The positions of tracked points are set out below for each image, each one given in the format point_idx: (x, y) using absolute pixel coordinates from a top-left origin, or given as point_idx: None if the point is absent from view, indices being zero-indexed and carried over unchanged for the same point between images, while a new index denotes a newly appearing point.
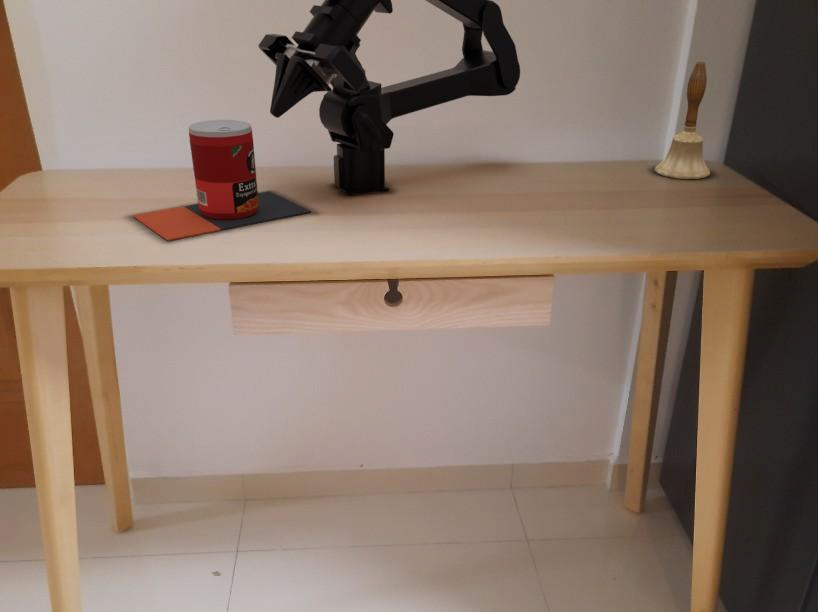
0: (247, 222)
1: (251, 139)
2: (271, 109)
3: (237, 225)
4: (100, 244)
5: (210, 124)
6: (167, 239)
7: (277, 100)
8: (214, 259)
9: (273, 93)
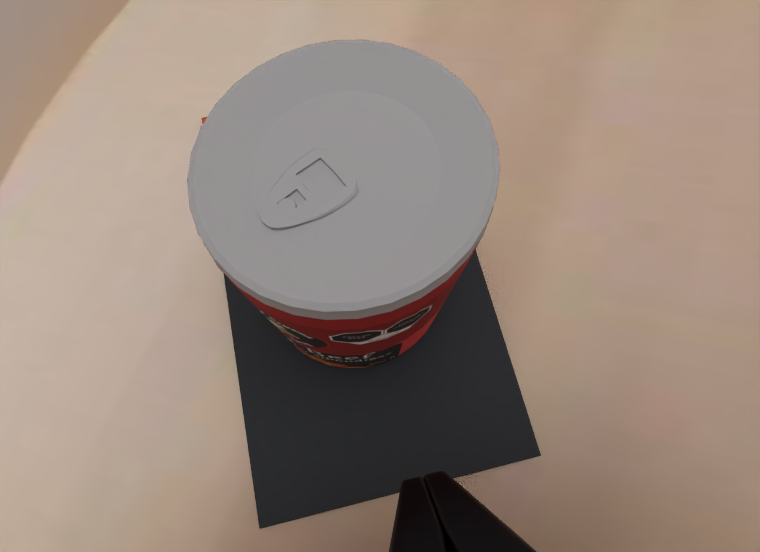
0: (238, 310)
1: (262, 308)
2: (429, 481)
3: (227, 280)
4: (252, 11)
5: (449, 143)
6: (202, 118)
7: (394, 542)
8: (28, 186)
9: (511, 547)
